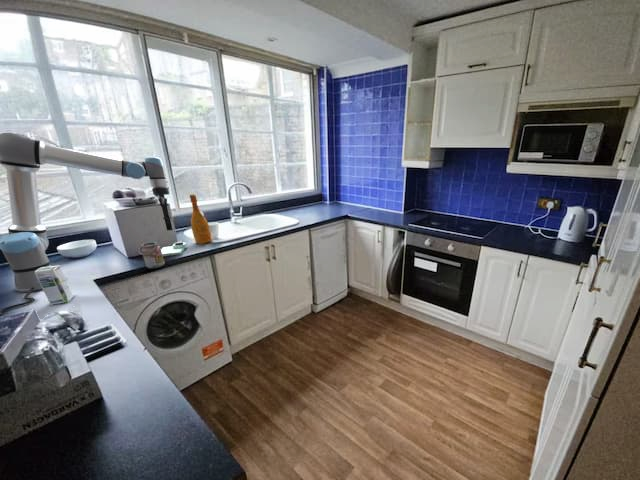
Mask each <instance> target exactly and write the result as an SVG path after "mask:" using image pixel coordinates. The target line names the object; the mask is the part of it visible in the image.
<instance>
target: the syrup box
mask: <svg viewBox="0 0 640 480" xmlns="http://www.w3.org/2000/svg"><path fill="white" fill-rule="evenodd" d="M34 273H35V275H36V277H37V279H38V281H39V283H40V285H41V287H42V291H43V293H44V294H45V296H46V299H47V301H48V303H49V305H50V306H53V305H59V304H64V303H69V302H70V301H71V300H72V299H73V298H74V293H73V292H72V289H71V286H70V284H69V283H68V280H67V278H66V276H65V274H64V271H63V269H62V267H61V266H60V264H57V265H56V264H55V265H51V266H49V267H41V268H39V269H37V270H36V271H35V272H34Z"/></svg>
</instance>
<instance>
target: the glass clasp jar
mask: <svg viewBox="0 0 640 480" xmlns="http://www.w3.org/2000/svg"><path fill="white" fill-rule="evenodd" d="M161 249H162V248H161V247H160V245H159V244H158V242H155V241H151V242H149V241H148V242H145V243H141V246H140V248H139V249H138V254H139V255H141V256H142V257H143V260H144V263H145V266H146V268H148V269H150V270H153V269H158V268H161V267H164V266H165V264H166V262H165V259H164V256H163V255H162V252H161Z"/></svg>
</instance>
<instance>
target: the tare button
mask: <svg viewBox="0 0 640 480" xmlns="http://www.w3.org/2000/svg"><path fill="white" fill-rule="evenodd" d="M183 243H184V242H183V241H180V240H179V241H176V242H174V244H175V245H176V246H177V245H182V244H183Z"/></svg>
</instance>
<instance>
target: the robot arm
mask: <svg viewBox="0 0 640 480" xmlns="http://www.w3.org/2000/svg"><path fill="white" fill-rule="evenodd" d="M45 164H48V165H54V166H60V167H67V168H72V169H77V170H84V171H88V172H89V171H90V172H96V173H101V174H108V175H113V176H121V177H123V178H131V179H135V180H141V179H142V178H144V177H148V178H149V183H150V187H151V190H152V194H153V195H154V196H159V198H157V201H158V202H159V205H160V207H161V210H162V213H163V217H162V220H164V223H165V228H166V231H173V225H172V221H171V219H172V216H170V213H169V210H168V206H169V205H168V199H167V197H166V195H170V190H169V187H168V183H169V181H168V180H167V177H166V172H165V168H164V167H165V166H164V163H163V162H162V158H161V157H160V158H159V157H155V156H154V157H153V156H152V157H150V156H149V157H145V158H144V161H129V160H124V159H120V158H116V157H115V158H114V157H110V156H106V155H105V156H104V155H99V154H95V153H89V152H85V151H79V150H74V149H71V148H64V147H60V146H53V145H49V144H45V143H44V142H43V141H41V140H37V139H33V138H30V137H28V136H27V135H24V134H20V133H16V132H15V133H14V132H1V133H0V165H1V166H2V167H3V168H4V169H5V170H6V179H7V187H8V195H9V196H8V197H9V204H10V211H11V212H10V213H11V220H12V221H11V222H12V224H10V225H9V226H7V231H8V234H7V235H3V236H2V237H0V251H1V252H2V254H3V256H4V258H5V259H6V261H7V263H8V265H9V267H10V268H11V270H12V272H13V275H14V289H15V290H16V292H18V293H25V295H24V296H23V299H24V300H27V301H24V302H20V303H16V304H12V305H9V306H6V307H3V308H1V309H0V317H1V316H3V315H5V314H4V312H5V311H7V310H11V309H15V308H18V307H21V306H25V305H29V304H31V303H33V302H34V301H35V300H36V299H35V297H29V296H30V295H31V293H32V292H37V291H41V290H42V291H43V289H42V287H41V285H40V283H39V281H38V279H37V277H36V275H35V273H34V272H35V271H36V270H37V269H39V268H41V267H49V266H52V264H51V262H50V260H49V257H48V256H47V253H46V250H48V248H49V246H50V245H49V244H50V242H49V239H48V236H47V228H46V227H45V226H43V225H42V223H41V214H40V212H41V211H40V204H39V203H40V202H39V192H38V183H37V182H38V181H37V172H38V171H39V170H41V166H43V165H45Z"/></svg>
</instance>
